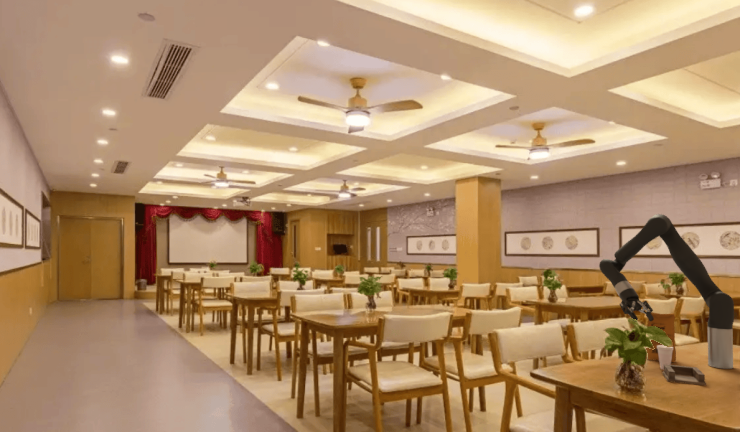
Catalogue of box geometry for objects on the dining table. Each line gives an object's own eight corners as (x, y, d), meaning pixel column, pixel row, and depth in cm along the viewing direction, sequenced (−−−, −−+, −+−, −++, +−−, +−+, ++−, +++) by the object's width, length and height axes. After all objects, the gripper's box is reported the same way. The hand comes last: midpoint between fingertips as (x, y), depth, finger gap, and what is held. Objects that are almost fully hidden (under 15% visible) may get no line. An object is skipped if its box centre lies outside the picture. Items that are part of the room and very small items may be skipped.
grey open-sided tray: (662, 373, 211) (662, 363, 211) (698, 377, 206) (698, 367, 207) (667, 381, 199) (667, 371, 199) (706, 385, 194) (706, 375, 195)
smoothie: (676, 371, 215) (675, 338, 216) (659, 370, 217) (659, 337, 217) (670, 367, 222) (670, 335, 222) (654, 366, 223) (654, 334, 224)
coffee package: (646, 355, 244) (645, 310, 245) (676, 359, 237) (675, 312, 238) (645, 359, 235) (644, 312, 236) (676, 363, 229) (675, 315, 230)
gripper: (617, 287, 239) (635, 315, 227) (643, 287, 242) (661, 315, 230) (609, 297, 244) (626, 325, 232) (634, 297, 247) (652, 325, 235)
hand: (644, 320), depth 231 cm, fingers open, 8 cm apart
